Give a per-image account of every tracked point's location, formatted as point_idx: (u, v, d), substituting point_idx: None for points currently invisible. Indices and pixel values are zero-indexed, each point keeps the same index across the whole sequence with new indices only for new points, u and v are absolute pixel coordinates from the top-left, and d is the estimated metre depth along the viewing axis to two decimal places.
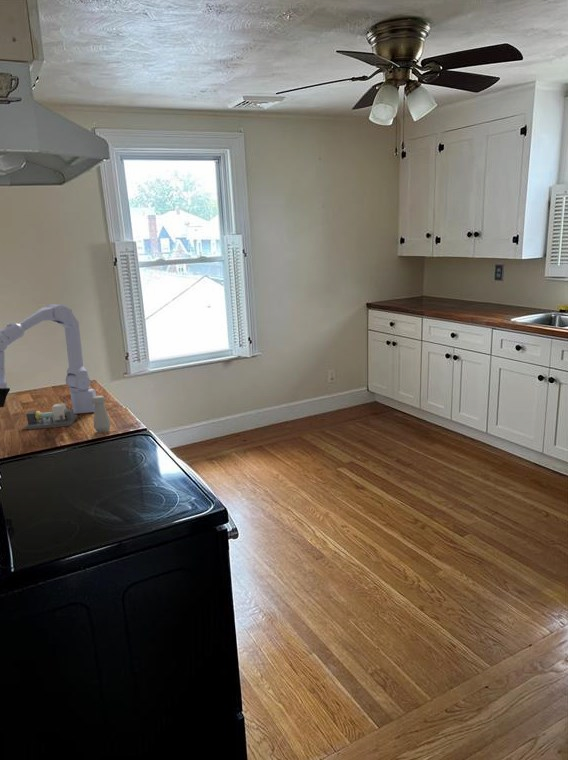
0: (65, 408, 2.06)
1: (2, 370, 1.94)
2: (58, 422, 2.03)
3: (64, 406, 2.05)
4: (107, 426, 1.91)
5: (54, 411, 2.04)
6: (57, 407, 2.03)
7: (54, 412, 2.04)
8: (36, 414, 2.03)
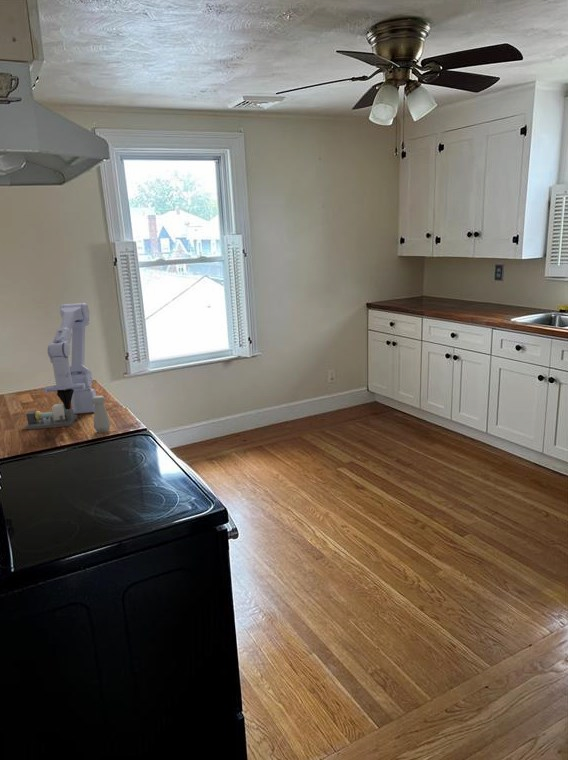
0: (65, 408, 2.06)
1: None
2: (58, 422, 2.03)
3: (64, 406, 2.05)
4: (107, 426, 1.91)
5: (54, 411, 2.04)
6: (57, 407, 2.03)
7: (54, 412, 2.04)
8: (36, 414, 2.03)
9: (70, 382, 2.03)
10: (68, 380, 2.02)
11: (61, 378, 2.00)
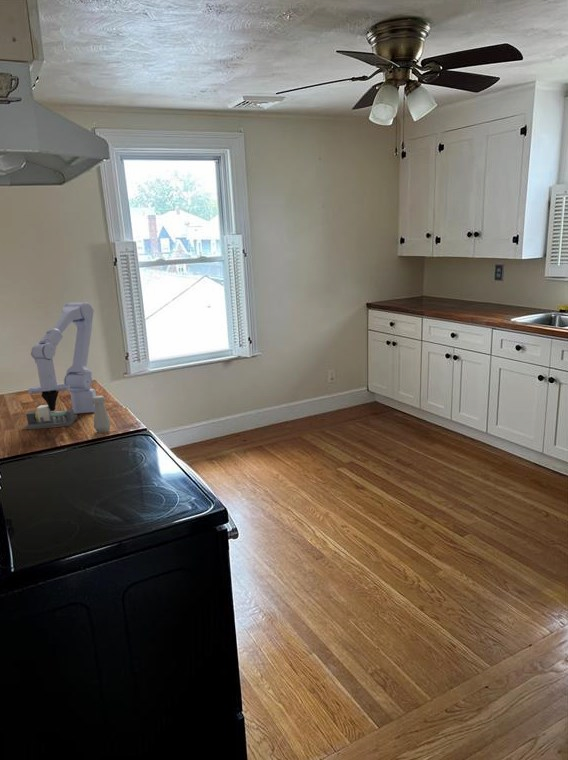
0: None
1: None
2: (58, 422, 2.03)
3: None
4: (107, 426, 1.91)
5: (39, 412, 2.03)
6: (42, 408, 2.03)
7: (39, 413, 2.03)
8: (36, 414, 2.03)
9: (54, 383, 2.02)
10: (52, 381, 2.01)
11: (45, 379, 2.00)
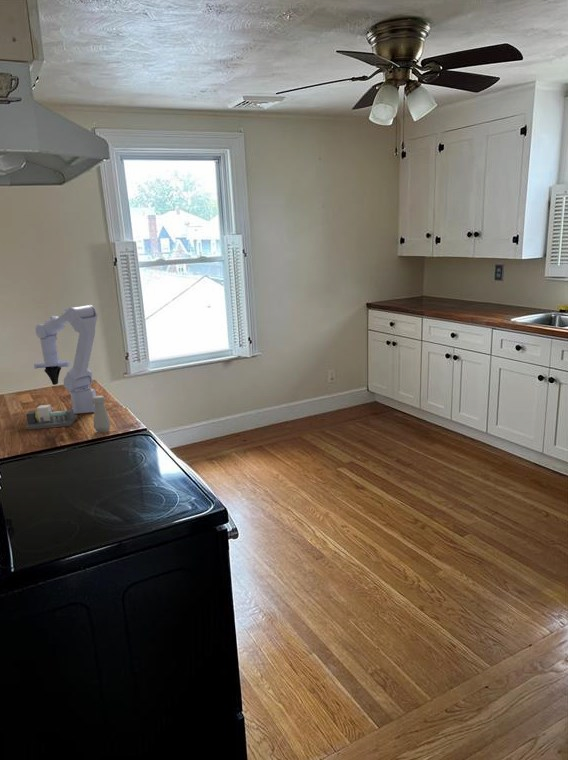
0: (50, 409, 2.06)
1: (57, 352, 2.25)
2: (58, 422, 2.03)
3: (49, 407, 2.05)
4: (107, 426, 1.91)
5: (39, 412, 2.03)
6: (42, 408, 2.03)
7: (39, 413, 2.03)
8: (36, 414, 2.03)
9: (56, 360, 2.23)
10: (53, 358, 2.22)
11: (47, 356, 2.21)
